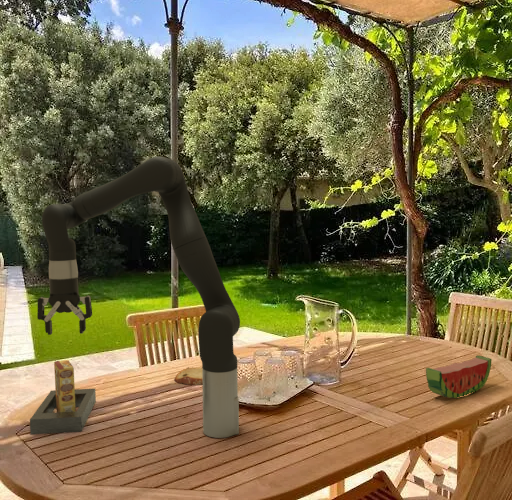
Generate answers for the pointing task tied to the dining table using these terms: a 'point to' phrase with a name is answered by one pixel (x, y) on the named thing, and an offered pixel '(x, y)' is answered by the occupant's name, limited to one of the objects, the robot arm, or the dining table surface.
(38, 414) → the rectangular frame
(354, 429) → the dining table surface
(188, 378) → the bread slice
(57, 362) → the candy box
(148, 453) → the dining table surface
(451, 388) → the fruit slice
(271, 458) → the dining table surface
